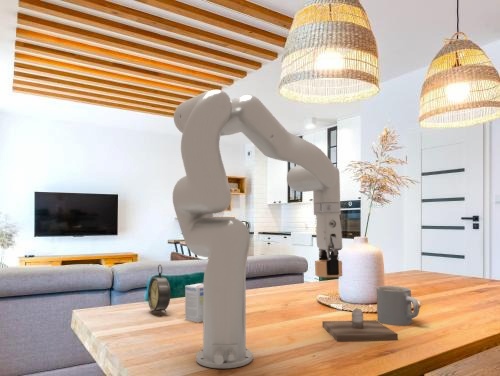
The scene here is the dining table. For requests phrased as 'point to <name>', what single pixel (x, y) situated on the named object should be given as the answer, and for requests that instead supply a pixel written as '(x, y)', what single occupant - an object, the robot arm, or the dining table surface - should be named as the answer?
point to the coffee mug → (395, 305)
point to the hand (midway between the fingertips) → (328, 272)
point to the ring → (325, 269)
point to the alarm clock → (159, 293)
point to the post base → (358, 329)
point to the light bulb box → (194, 302)
